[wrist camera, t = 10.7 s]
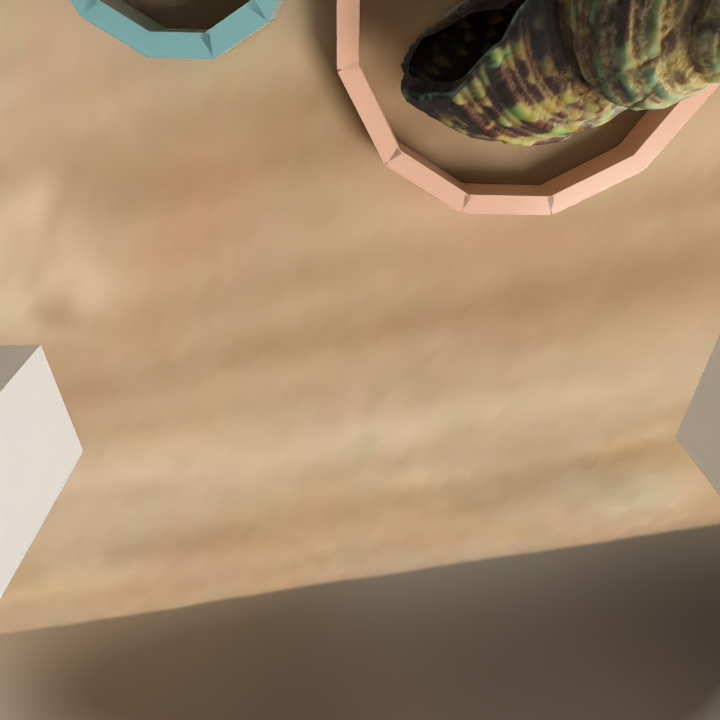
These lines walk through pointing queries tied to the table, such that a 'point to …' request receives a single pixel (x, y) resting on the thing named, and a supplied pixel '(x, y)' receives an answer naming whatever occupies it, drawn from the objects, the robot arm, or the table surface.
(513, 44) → the seashell
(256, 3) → the teal segmented ring
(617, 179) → the pink segmented ring
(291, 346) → the table surface
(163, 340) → the table surface
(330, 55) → the table surface
